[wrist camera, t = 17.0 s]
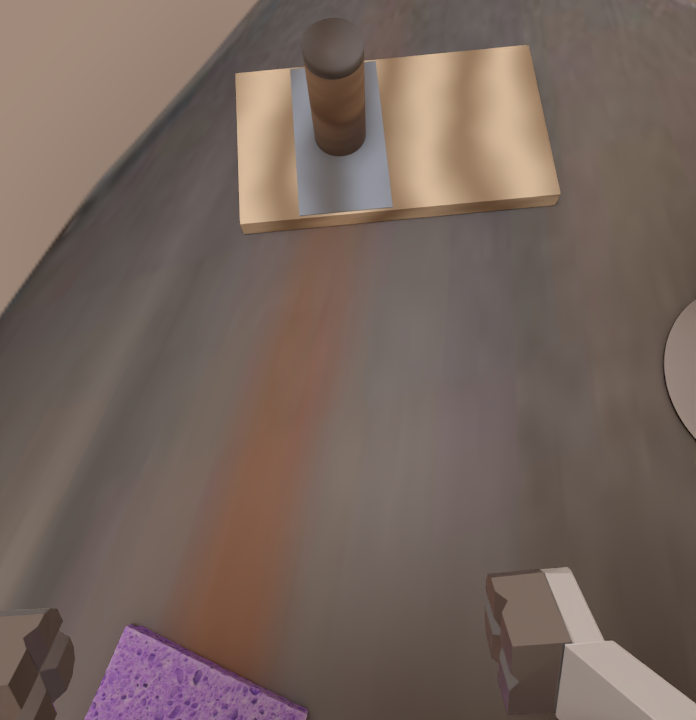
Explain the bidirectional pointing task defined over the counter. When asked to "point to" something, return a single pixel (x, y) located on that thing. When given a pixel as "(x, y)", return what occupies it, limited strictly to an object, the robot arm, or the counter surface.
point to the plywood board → (397, 144)
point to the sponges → (179, 686)
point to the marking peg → (336, 84)
